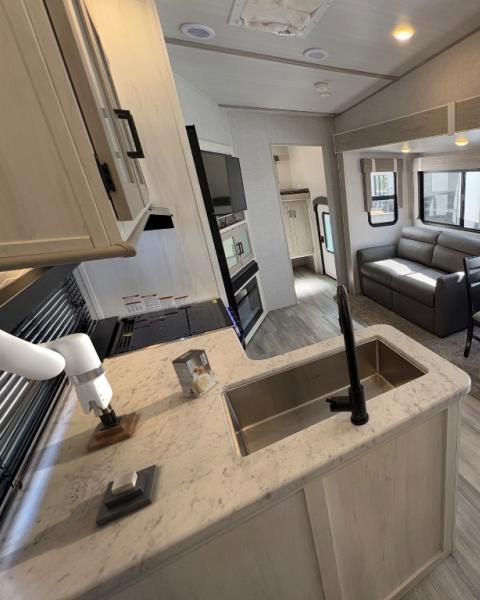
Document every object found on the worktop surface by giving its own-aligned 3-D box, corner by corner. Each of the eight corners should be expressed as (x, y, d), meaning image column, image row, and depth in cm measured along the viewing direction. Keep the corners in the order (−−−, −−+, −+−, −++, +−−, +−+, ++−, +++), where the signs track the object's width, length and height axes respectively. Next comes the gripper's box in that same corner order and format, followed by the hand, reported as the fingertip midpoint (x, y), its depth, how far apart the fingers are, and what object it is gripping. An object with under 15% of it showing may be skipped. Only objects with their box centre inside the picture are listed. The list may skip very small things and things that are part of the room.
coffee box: (202, 383, 124) (191, 348, 118) (216, 384, 123) (205, 348, 117) (184, 398, 115) (170, 361, 110) (199, 399, 114) (186, 361, 109)
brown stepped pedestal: (89, 453, 92) (83, 443, 91) (100, 429, 102) (95, 419, 101) (131, 438, 97) (126, 428, 96) (137, 416, 107) (133, 407, 105)
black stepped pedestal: (99, 528, 71) (92, 516, 69) (111, 488, 80) (105, 477, 79) (152, 504, 75) (147, 493, 74) (158, 469, 85) (153, 459, 84)
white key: (114, 496, 74) (111, 490, 73) (118, 484, 77) (114, 478, 77) (135, 488, 76) (132, 482, 75) (137, 476, 79) (135, 470, 78)
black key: (102, 434, 96) (100, 429, 95) (106, 426, 99) (103, 421, 99) (119, 429, 98) (116, 423, 97) (121, 421, 101) (119, 416, 101)
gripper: (78, 366, 96) (101, 414, 102) (60, 391, 84) (88, 442, 90) (109, 359, 100) (130, 405, 106) (96, 381, 87) (120, 431, 94)
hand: (110, 422), depth 98 cm, fingers closed
